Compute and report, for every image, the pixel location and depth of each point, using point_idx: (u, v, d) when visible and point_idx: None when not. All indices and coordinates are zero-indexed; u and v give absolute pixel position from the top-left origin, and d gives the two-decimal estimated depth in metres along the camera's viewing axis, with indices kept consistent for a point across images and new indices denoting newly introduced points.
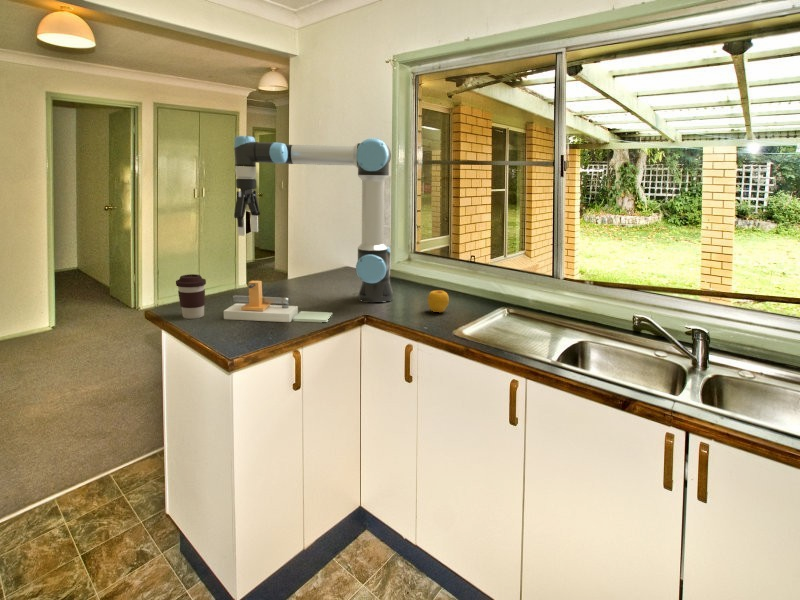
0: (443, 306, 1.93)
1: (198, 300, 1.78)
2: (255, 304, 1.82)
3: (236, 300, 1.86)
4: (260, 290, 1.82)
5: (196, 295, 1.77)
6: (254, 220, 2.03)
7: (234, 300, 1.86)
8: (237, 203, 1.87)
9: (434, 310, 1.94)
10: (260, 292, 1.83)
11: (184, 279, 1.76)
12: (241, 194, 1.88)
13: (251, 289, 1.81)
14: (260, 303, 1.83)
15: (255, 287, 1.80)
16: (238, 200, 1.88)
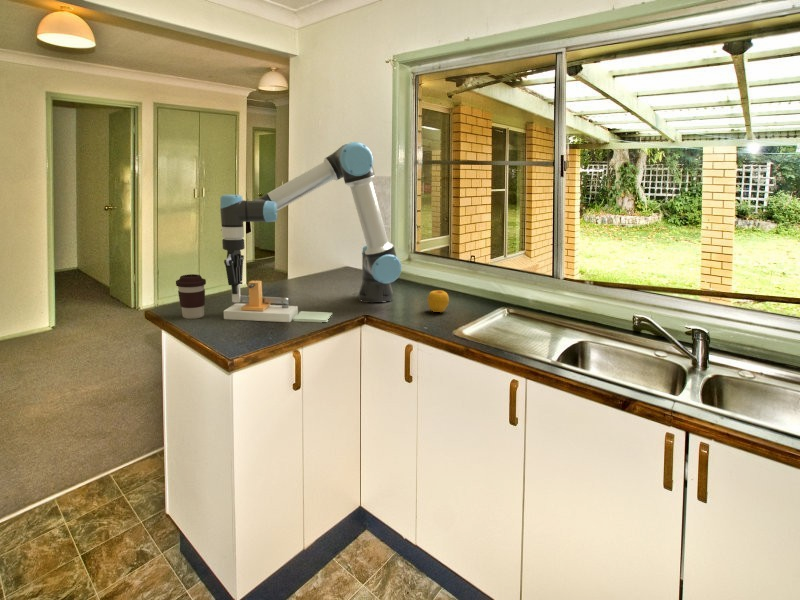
0: (443, 306, 1.93)
1: (198, 300, 1.78)
2: (255, 304, 1.82)
3: None
4: (260, 290, 1.82)
5: (196, 295, 1.77)
6: None
7: None
8: (228, 272, 1.79)
9: (434, 310, 1.94)
10: (260, 292, 1.83)
11: (184, 279, 1.76)
12: (229, 263, 1.77)
13: (251, 289, 1.81)
14: (260, 303, 1.83)
15: (255, 287, 1.80)
16: (228, 269, 1.78)
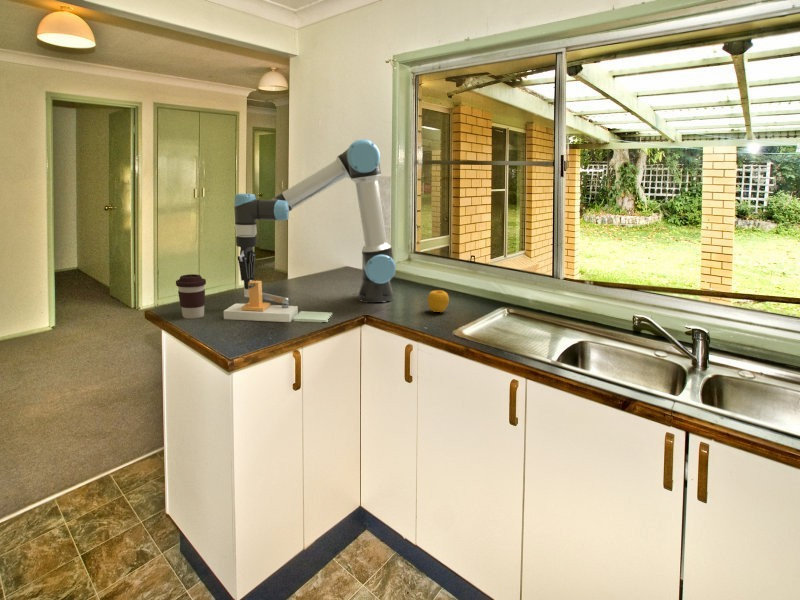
0: (443, 306, 1.93)
1: (198, 300, 1.78)
2: (255, 304, 1.82)
3: None
4: (260, 290, 1.82)
5: (196, 295, 1.77)
6: None
7: None
8: (241, 268, 1.86)
9: (434, 310, 1.94)
10: (260, 292, 1.83)
11: (184, 279, 1.76)
12: (242, 260, 1.84)
13: (251, 289, 1.81)
14: (260, 303, 1.83)
15: (255, 287, 1.80)
16: (241, 265, 1.86)
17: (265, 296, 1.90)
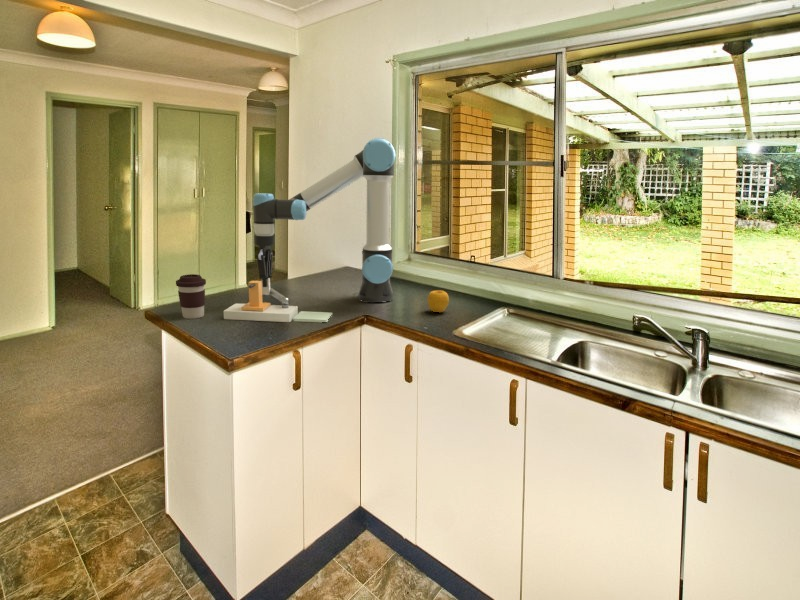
0: (443, 306, 1.93)
1: (198, 300, 1.78)
2: (255, 304, 1.82)
3: None
4: (260, 290, 1.82)
5: (196, 295, 1.77)
6: None
7: None
8: (259, 266, 1.90)
9: (434, 310, 1.94)
10: (260, 292, 1.83)
11: (184, 279, 1.76)
12: (261, 258, 1.88)
13: (251, 289, 1.81)
14: (260, 303, 1.83)
15: (255, 287, 1.80)
16: (259, 263, 1.90)
17: (274, 294, 1.93)
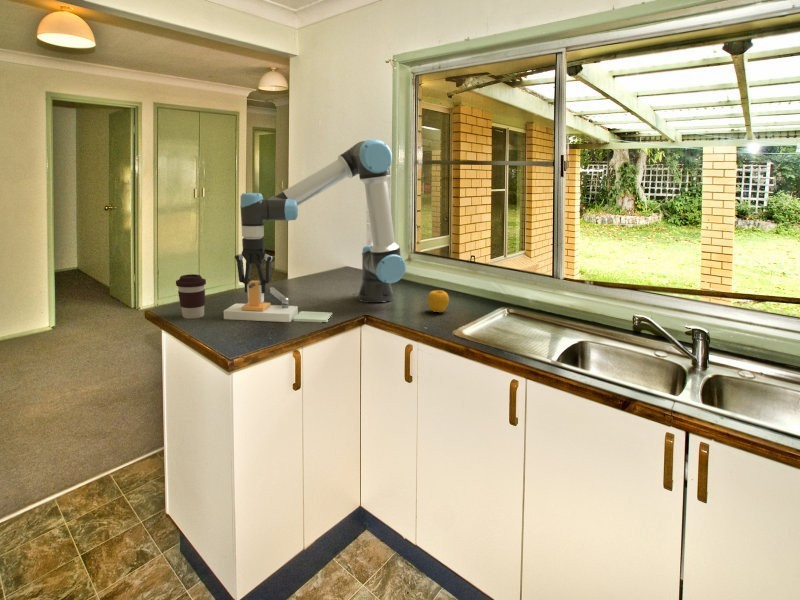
0: (443, 306, 1.93)
1: (198, 300, 1.78)
2: (255, 304, 1.82)
3: (270, 291, 2.01)
4: None
5: (196, 295, 1.77)
6: None
7: (270, 291, 2.02)
8: None
9: (434, 310, 1.94)
10: None
11: (184, 279, 1.76)
12: None
13: (251, 289, 1.81)
14: (260, 303, 1.83)
15: (255, 287, 1.80)
16: None
17: (276, 294, 1.94)
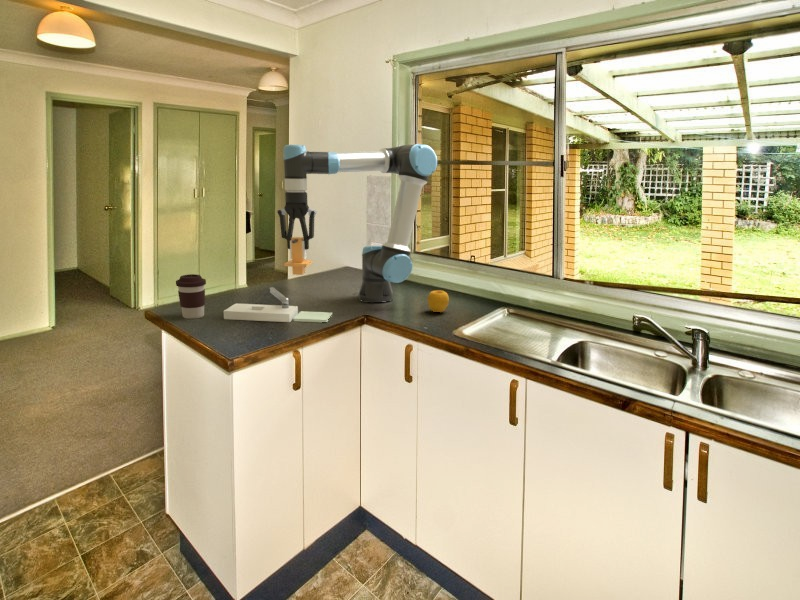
0: (443, 306, 1.93)
1: (198, 300, 1.78)
2: (298, 260, 1.78)
3: (270, 291, 2.01)
4: None
5: (196, 295, 1.77)
6: None
7: (270, 291, 2.02)
8: None
9: (434, 310, 1.94)
10: None
11: (184, 279, 1.76)
12: None
13: (294, 245, 1.76)
14: (303, 260, 1.79)
15: (298, 243, 1.76)
16: None
17: (276, 294, 1.94)
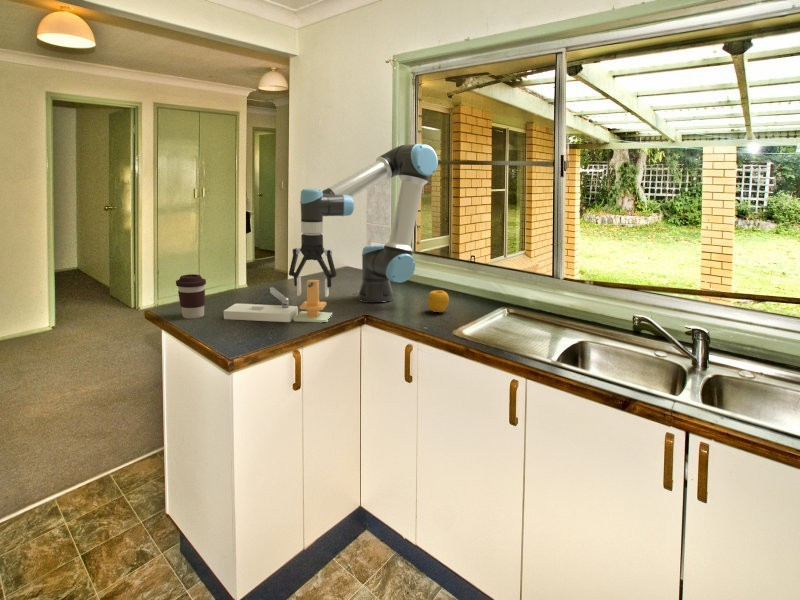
0: (443, 306, 1.93)
1: (198, 300, 1.78)
2: (313, 303, 1.81)
3: (270, 291, 2.01)
4: (317, 289, 1.82)
5: (196, 295, 1.77)
6: None
7: (270, 291, 2.02)
8: None
9: (434, 310, 1.94)
10: (317, 291, 1.82)
11: (184, 279, 1.76)
12: None
13: (309, 288, 1.80)
14: (317, 302, 1.82)
15: (313, 286, 1.80)
16: None
17: (276, 294, 1.94)
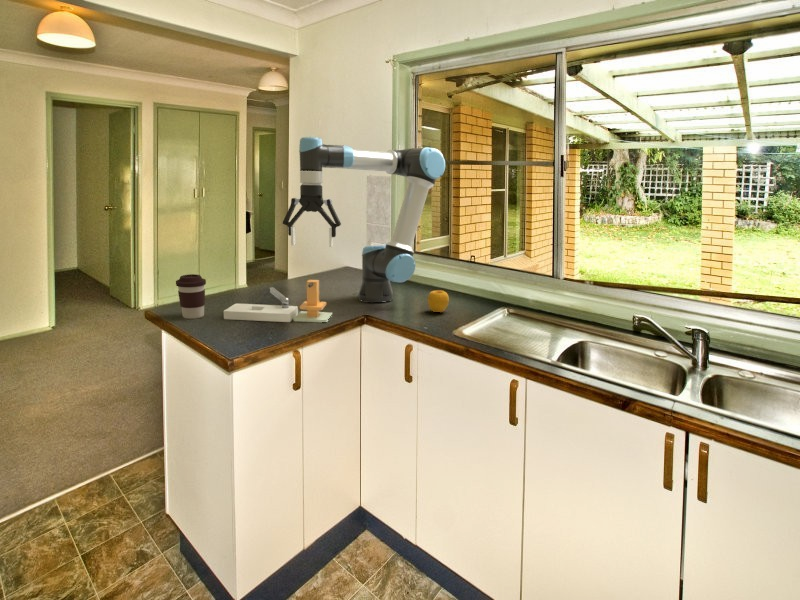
0: (443, 306, 1.93)
1: (198, 300, 1.78)
2: (313, 303, 1.81)
3: (270, 291, 2.01)
4: (317, 289, 1.82)
5: (196, 295, 1.77)
6: None
7: (270, 291, 2.02)
8: None
9: (434, 310, 1.94)
10: (317, 291, 1.82)
11: (184, 279, 1.76)
12: None
13: (309, 288, 1.80)
14: (317, 302, 1.82)
15: (313, 286, 1.80)
16: None
17: (276, 294, 1.94)
